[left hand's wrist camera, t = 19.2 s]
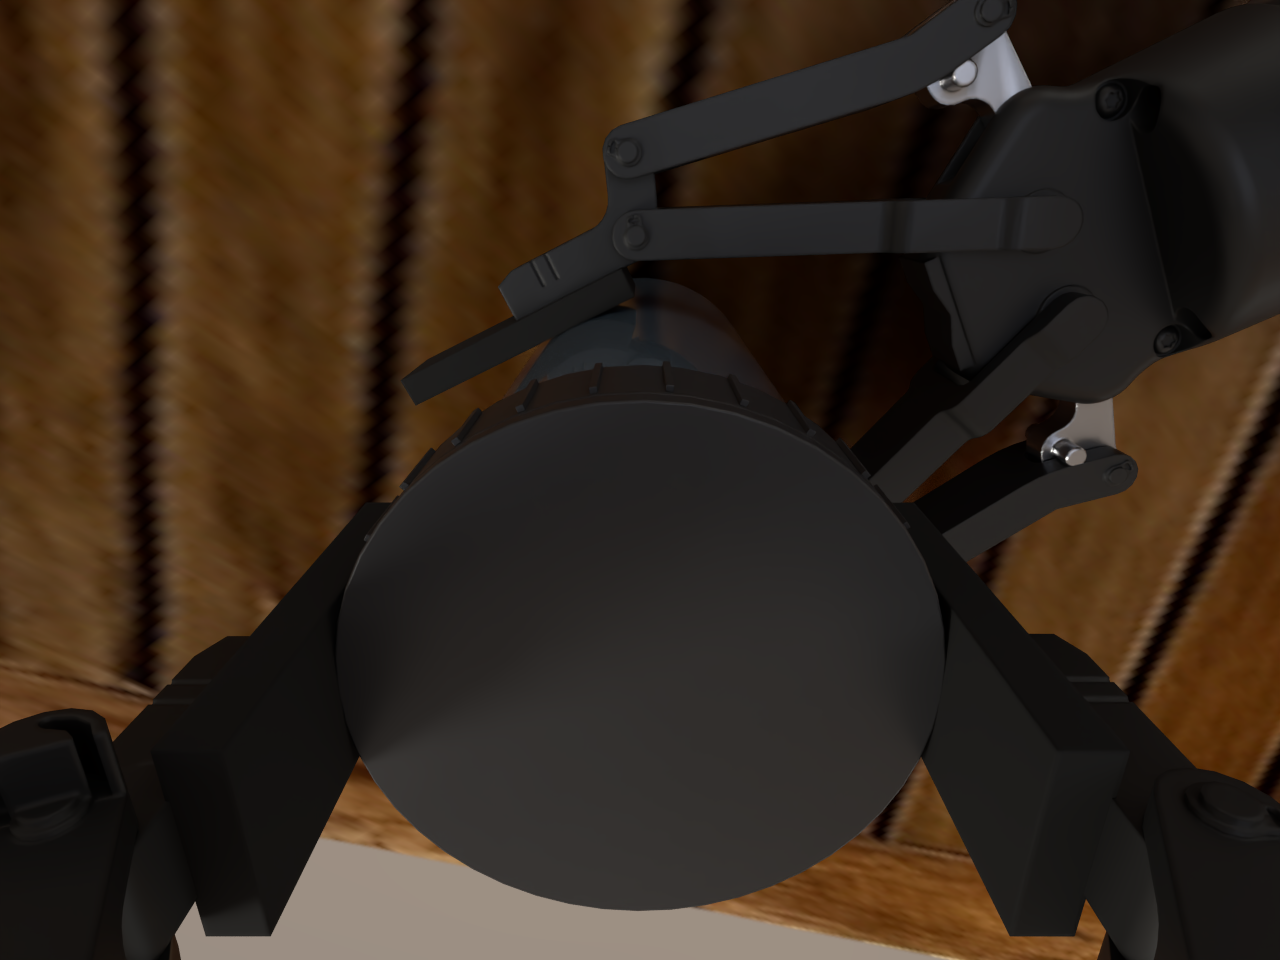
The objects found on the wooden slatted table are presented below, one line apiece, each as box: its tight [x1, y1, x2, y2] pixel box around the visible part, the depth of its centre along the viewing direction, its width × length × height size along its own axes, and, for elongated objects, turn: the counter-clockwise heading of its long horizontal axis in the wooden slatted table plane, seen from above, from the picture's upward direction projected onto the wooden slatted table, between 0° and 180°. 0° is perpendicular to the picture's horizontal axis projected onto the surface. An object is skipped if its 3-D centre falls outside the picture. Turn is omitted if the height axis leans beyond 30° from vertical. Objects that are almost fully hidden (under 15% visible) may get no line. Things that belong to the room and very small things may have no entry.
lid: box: [335, 361, 946, 911], centre depth 12 cm, size 9×9×2 cm
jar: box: [503, 278, 786, 403], centre depth 20 cm, size 8×8×17 cm
